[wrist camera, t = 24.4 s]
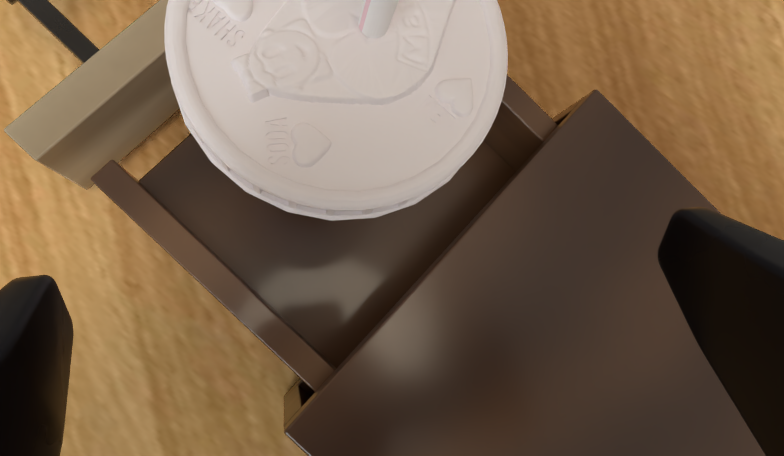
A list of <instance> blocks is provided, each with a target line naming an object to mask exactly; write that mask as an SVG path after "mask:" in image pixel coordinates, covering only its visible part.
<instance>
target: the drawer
mask: <svg viewBox="0 0 784 456" xmlns="http://www.w3.org/2000/svg"><path fill="white" fill-rule="evenodd" d="M6 1H7V2H8V3H10V4H11V5H13V4H15V3H16V2H17V1H18V2H19V3H20V4H21V5H22V6H23V7H24V8H25V9H26V10H27V11H28V12H29V13H30V14H31V15H32V16H34V17H35V18H36V19H37V20H38V21H39V22H40V23H41V24H42V25H43V26H44V27H45V28H46V29H47V30H48V31H49V32H50V33H51V34H52V35H53V36H54V37H56V38H57V39H58V40H59V41H60V42H61V43H62V44H63V45H64V46H65V47H66V48H67V49H68V50H69V51H70V52H71V53H72V54H73V55H74V56H75V57H76V58H78V59H79V60H80V61H81V62H82V63H83V64H82V65H81V66H80V67H79V68H77V69H76V70H75V71H74V72H72V73H71V74H70V75H69V76H68V77H66V78H65V79H64V80H63V81H62V82H60V83H59V84H58V85H57V86H55V87H54V88H53V89H52V90H51V91H49V92H48V93H47V94H46V95H45V96H43V97H42V98H41V99H40V100H39V101H37V102H36V103H35V104H34V105H32V106H31V107H30V108H29V109H28V110H26V111H25V112H24V113H23V114H22V115H20V116H19V117H18V118H17V119H16V120H14V121H13V122H12V123H11V124H9V125H8V126H7V127H6V128H5V129H4V131H5V133H7V134H8V135H9V136H10V137H11V138H12V139H13V140H14V141H15V142H16V143H17V144H18V145H19V146H20V147H21V148H22V149H24V150H25V151H26V152H27V153H28V154H29V155H30V156H31V157H32V158H33V159H34V160H36V161H37V162H39V163H41V164H43V165H44V166H46V167H48V168H50V169H51V170H53V171H55V172H56V173H58V174H60V175H62V176H63V177H65V178H67V179H69V180H70V181H72V182H74V183H76V184H77V185H79V186H81V187H83V188H84V189H86V190H87V189H89V188H90V187H91V186H92V185H94V184H95V185H96V186H98V187H99V188H100V189H101V190H102V191H103V192H104V193H105V194H106V195H107V196H108V197H109V198H110V199H111V200H112V201H113V202H114V203H116V204H117V205H118V206H119V207H120V208H121V209H122V210H123V211H124V212H125V213H126V214H127V215H128V216H129V217H130V218H131V219H133V220H134V221H135V222H136V223H137V224H138V225H139V226H140V227H141V228H142V229H143V230H144V231H145V232H146V233H147V234H148V235H149V236H151V237H152V238H153V239H154V240H155V241H156V242H157V243H158V244H159V245H160V246H161V247H162V248H163V249H164V250H165V251H166V252H167V253H169V254H170V255H171V256H172V257H173V258H174V259H175V260H176V261H177V262H178V263H179V264H180V265H181V266H182V267H183V268H184V269H185V270H187V271H188V272H189V273H190V274H191V275H192V276H193V277H194V278H195V279H196V280H197V281H198V282H199V283H200V284H201V285H202V286H203V287H205V288H206V289H207V290H208V291H209V292H210V293H211V294H212V295H213V296H214V297H215V298H216V299H217V300H218V301H219V302H220V303H222V304H223V305H224V306H225V307H226V308H227V309H228V310H229V311H230V312H231V313H232V314H233V315H234V316H235V317H236V318H237V319H238V320H240V321H241V322H242V323H243V324H244V325H245V326H246V327H247V328H248V329H249V330H250V331H251V332H252V333H253V334H254V335H255V336H256V337H258V338H259V339H260V340H261V341H262V342H263V343H264V344H265V345H266V346H267V347H268V348H269V349H270V350H271V351H272V352H273V353H274V354H276V355H277V356H278V357H279V358H280V359H281V360H282V361H283V362H284V363H285V364H286V365H287V366H288V367H289V368H290V369H291V370H292V371H294V372H295V373H296V374H297V375H298V376H299V377H300V378H301V379H302V380H303V381H304V382H305V383H306V384H307V385H308V386H309V387H311V388H312V389H313V390H314V391H315V392H316V391H317V390H318V388H319V387H320V386H321V385H322V384H323V383H324V382H325V381H326V380H327V379H328V378H329V376H330V375H331V374H332V373H333V372H334V371H335V370H336V369H337V368H338V367H339V365H340V364H341V363H342V362H343V361H344V360H345V359H346V358H347V357H348V356H349V355H350V353H351V352H352V351H353V350H354V349H355V348H356V347H357V346H358V345H359V344H360V342H361V341H362V340H363V339H364V338H365V337H366V336H367V335H368V334H369V333H370V331H371V330H372V329H373V328H374V327H375V326H376V325H377V324H378V323H379V322H380V321H381V319H382V318H383V317H384V316H385V315H386V314H387V313H388V312H389V311H390V310H391V308H392V307H393V306H394V305H395V304H396V303H397V302H398V301H399V300H400V299H401V298H402V296H403V295H404V294H405V293H406V292H407V291H408V290H409V289H410V288H411V287H412V285H413V284H414V283H415V282H416V281H417V280H418V279H419V278H420V277H421V276H422V274H423V273H424V272H425V271H426V270H427V269H428V268H429V267H430V266H431V265H432V264H433V262H434V261H435V260H436V259H437V258H438V257H439V256H440V255H441V254H442V253H443V251H444V250H445V249H446V248H447V247H448V246H449V245H450V244H451V243H452V242H453V241H454V239H455V238H456V237H457V236H458V235H459V234H460V233H461V232H462V231H463V230H464V228H465V227H466V226H467V225H468V224H469V223H470V222H471V221H472V220H473V219H474V217H475V216H476V215H477V214H478V213H479V212H480V211H481V210H482V209H483V208H484V207H485V205H486V204H487V203H488V202H489V201H490V200H491V199H492V198H493V197H494V196H495V194H496V193H497V192H498V191H499V190H500V189H501V188H502V187H503V186H504V185H505V184H506V182H507V181H508V180H509V179H510V178H511V177H512V176H513V175H514V174H515V173H516V171H517V170H518V169H519V168H520V167H521V166H522V165H523V164H524V163H525V162H526V160H527V159H528V158H529V157H530V156H531V155H532V154H533V153H534V152H535V151H536V150H537V148H538V147H539V146H540V145H541V144H542V143H543V142H544V141H545V140H546V139H547V137H548V136H549V135H550V134H551V133H552V132H553V131H554V130H555V129H556V128H557V127H558V125H557V124H556V123H555V122H554V121H553V120H552V119H551V118H550V117H549V116H548V115H547V114H546V113H545V112H544V111H543V110H542V109H541V108H540V107H539V106H538V105H537V104H536V103H535V102H534V101H533V100H532V99H531V98H530V97H529V96H528V95H527V94H526V93H525V92H524V91H523V90H522V89H521V88H520V87H519V86H518V85H517V84H516V83H515V82H514V81H513V80H512V79H511V78H510V77H509V76H508V75H507V77H506V84H505V89H504V93H503V98H502V101H501V104H500V107H499V110H498V113H497V115H496V118H495V120H494V122H493V124H492V126H491V128H490V130H489V132H488V133H487V135H486V137H485V138H484V140H483V142H482V143H481V144H480V146H479V147H478V148H477V150H476V151H475V152H474V154H473V155H472V156H471V157H470V158H469V159H468V160H467V161H466V162H465V164H464V165H463V166H462V167H460V169H459V170H458V171H457V172H456V173H455V175H454V176H453V177H452V178H451V179H450V181H448V182H447V183H446V184H444V185H443V186H441V187H440V188H438V189H437V190H435V191H434V192H432V193H431V194H430V195H428V196H427V197H425V198H424V199H422V200H421V201H419V202H418V203H416V204H414V205H411V206H409V207H406V208H403V209H400V210H397V211H394V212H391V213H388V214H385V215H382V216H379V217H376V218H365V219H350V220H335V221H331V220H326V219H320V218H315V217H310V216H305V215H300V214H295V213H290V212H286V211H284V210H282V209H280V208H278V207H276V206H274V205H272V204H270V203H268V202H266V201H264V200H261V199H259V198H257V197H255V196H253V195H251V194H249V193H247V192H245V191H244V190H243V189H242V188H241V187H240V186H238V185H237V184H236V183H235V182H234V181H233V180H231V179H230V178H229V177H228V176H227V175H226V174H224V173H223V172H222V171H221V170H220V169H218V168H217V167H216V166H215V165H214V164H213V163H211V161H210V160H209V158H208V157H207V155H206V154H205V153H204V151H203V150H202V148H201V147H200V145H199V144H198V142H197V141H196V139H195V138H194V137H193V135H192V134H190V135H189V136H188V137H187V138H186V139H185V140H184V141H182V142H181V143H180V144H179V145H178V146H177V147H176V148H175V149H174V150H172V151H171V152H170V153H169V154H168V155H167V156H166V157H165V158H164V159H163V160H161V161H160V162H159V163H158V164H157V165H156V166H155V167H154V168H153V169H151V170H150V171H149V172H148V173H147V174H146V175H145V176H144V177H143V178H141V179H140V180H139V181H138V180H137V179H136V178H134V177H133V176H132V175H131V174H130V173H129V172H127V171H126V170H125V169H124V168H123V167H121V166H120V165H119V164H118V162H119V161H121V160H122V159H123V158H124V157H125V156H126V155H127V154H129V153H130V152H131V151H132V150H133V149H134V148H135V147H136V146H138V145H139V144H140V143H141V142H142V141H143V140H144V139H145V138H147V137H148V136H149V135H150V134H151V133H152V132H153V131H154V130H156V129H157V128H158V127H159V126H160V125H161V124H162V123H164V122H165V121H166V120H167V119H168V118H169V117H170V116H171V115H173V114H174V113H175V112H176V111H177V110H178V109H179V108H180V107H179V105H178V102H177V99H176V96H175V93H174V90H173V87H172V84H171V78H170V75H169V70H168V66H167V61H166V53H165V43H164V25H165V16H166V8H167V4H168V0H160V1H158V2H157V3H156V4H155V5H154V6H152V7H151V8H150V9H149V10H148V11H146V12H145V13H144V14H143V15H142V16H140V17H139V18H138V19H137V20H135V21H134V22H133V23H132V24H131V25H129V26H128V27H127V28H126V29H125V30H123V31H122V32H121V33H120V34H118V35H117V36H116V37H115V38H114V39H112V40H111V41H110V42H109V43H108V44H106V45H105V46H104V47H103V48H102V49H100V50H99V49H98V48H97V47H96V46H95V45H94V44H93V43H92V42H91V41H90V40H89V39H88V38H86V37H85V36H84V35H83V34H82V33H81V32H80V31H79V30H78V29H77V28H76V27H75V26H74V25H73V24H72V23H71V22H70V21H69V20H68V19H67V18H66V17H65V16H64V15H62V14H61V13H60V12H59V11H58V10H57V9H56V8H55V7H54V6H53V5H52V4H51V3H50V2H49V1H48V0H6Z"/></svg>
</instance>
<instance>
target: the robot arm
mask: <svg viewBox="0 0 784 456" xmlns="http://www.w3.org/2000/svg"><path fill="white" fill-rule="evenodd" d="M658 262H659V265H660V267H661V269H662V271H663V273H664V275H665V277H666V279H667V282H668V284H669V286H670V288H671V290H672V292H673V294H674V296H675V298H676V300H677V302H678V304H679V307H680V309H681V311H682V313H683V315H684V317H685V319H686V321H687V323H688V325H689V327H690V329H691V332H692V334H693V335H694V337H695V339H696V341H697V343H698V345H699V347H700V349H701V350H702V352H703V354H704V356H705V357H706V359H707V361H708V362H709V364H710V365H711V367H712V369H713V370H714V372H715V374H716V375H717V377H718V379H719V380H720V382H721V383H722V385H723V387H724V388H725V390H726V392H727V393H728V395H729V397H730V398H731V400H732V401H733V403H734V405H735V406H736V408H737V410H738V411H739V413H740V415H741V416H742V418H743V419H744V421H745V423H746V424H747V426H748V428H749V429H750V431H751V433H752V434H753V436H754V438H755V439H756V441H757V442H758V444H759V446H760V447H761V449H762V451H763V452H764V454H765V456H784V241H783V240H781V239H778V238H776V237H774V236H771V235H769V234H766V233H764V232H762V231H759V230H757V229H755V228H752V227H750V226H748V225H745V224H743V223H741V222H738V221H736V220H734V219H731V218H729V217H727V216H724V215H722V214H719V213H717V212H715V211H712V210H710V209H708V208H705V207H692V208H682V209H679V210H677V211H676V212H675V213H674V214H673V215H672V217H671V219H670V221H669V224H668V226H667V228H666V231H665V233H664V236H663V238H662V240H661V243H660V245H659V248H658ZM72 345H73V324H72V320H71V317H70V315H69V312H68V310H67V308H66V305H65V303H64V300H63V298H62V296H61V293H60V291H59V289H58V286H57V284H56V282H55V281H54V279H53V278H52V277H50V276H48V275H39V276H29V277H20V278H16V279H14V280H12V281H10V282H9V283H8V284H7V285H5V286H4V287H3V288H2V289H1V290H0V456H60V452H61V447H62V441H63V433H64V425H65V415H66V405H67V395H68V385H69V375H70V365H71V355H72Z"/></svg>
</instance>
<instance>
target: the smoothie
mask: <svg viewBox="0 0 784 456" xmlns="http://www.w3.org/2000/svg"><path fill="white" fill-rule="evenodd" d="M164 43H165V53H166V61H167V66H168V70H169V75H170V78H171V84H172V87H173V90H174V93H175V96H176V99H177V102H178V105H179V107H180V110H181V113H182V116H183V119H184V122H185V125H186V126H187V128H188V129H189V131H190V132H191V134H192V135H193V137H194V138H195V139H196V141H197V142H198V144H199V145H200V147H201V148H202V150H203V151H204V153H205V154H206V155H207V157H208V158H209V160H210V161H211V163H213V164H214V165H215V166H216V167H217V168H218V169H220V170H221V171H222V172H223V173H224V174H226V175H227V176H228V177H229V178H230V179H231V180H233V181H234V182H235V183H236V184H237V185H238V186H240V187H241V188H242V189H243V190H244V191H245V192H247V193H249V194H251V195H253V196H255V197H257V198H259V199H261V200H264V201H266V202H268V203H270V204H272V205H274V206H276V207H278V208H280V209H282V210H284V211H286V212H290V213H295V214H300V215H305V216H310V217H315V218H320V219H326V220H331V221H335V220H350V219H365V218H376V217H379V216H382V215H385V214H388V213H391V212H394V211H397V210H400V209H403V208H406V207H409V206H411V205H414V204H416V203H418V202H419V201H421V200H422V199H424V198H425V197H427V196H428V195H430V194H431V193H432V192H434V191H435V190H437V189H438V188H440V187H441V186H443V185H444V184H446V183H447V182H448V181H450V179H451V178H452V177H453V176H454V175H455V173H456V172H457V171H458V170H459V169H460V167H462V166H463V165H464V164H465V162H466V161H467V160H468V159H469V158H470V157H471V156H472V155H473V154H474V152H475V151H476V150H477V148H478V147H479V146H480V144H481V143H482V142H483V140H484V138H485V137H486V135H487V133H488V132H489V130H490V128H491V126H492V124H493V122H494V120H495V118H496V115H497V113H498V110H499V107H500V104H501V101H502V98H503V93H504V89H505V84H506V77H507V65H508V50H507V38H506V32H505V26H504V21H503V18H502V14H501V10H500V7H499V4H498V2H497V0H168V4H167V8H166V16H165V25H164Z"/></svg>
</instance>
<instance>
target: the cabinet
mask: <svg viewBox="0 0 784 456" xmlns="http://www.w3.org/2000/svg"><path fill="white" fill-rule="evenodd" d="M552 120H553V121H554V122H555V123H556V124H557V125H558V127H557V128H556V129H555V130H554V131H553V132H552V133H551V134H550V135H549V136H548V137H547V139H546V140H545V141H544V142H543V143H542V144H541V145H540V146H539V147H538V148H537V150H536V151H535V152H534V153H533V154H532V155H531V156H530V157H529V158H528V159H527V160H526V162H525V163H524V164H523V165H522V166H521V167H520V168H519V169H518V170H517V171H516V173H515V174H514V175H513V176H512V177H511V178H510V179H509V180H508V181H507V182H506V184H505V185H504V186H503V187H502V188H501V189H500V190H499V191H498V192H497V193H496V194H495V196H494V197H493V198H492V199H491V200H490V201H489V202H488V203H487V204H486V205H485V207H484V208H483V209H482V210H481V211H480V212H479V213H478V214H477V215H476V216H475V217H474V219H473V220H472V221H471V222H470V223H469V224H468V225H467V226H466V227H465V228H464V230H463V231H462V232H461V233H460V234H459V235H458V236H457V237H456V238H455V239H454V241H453V242H452V243H451V244H450V245H449V246H448V247H447V248H446V249H445V250H444V251H443V253H442V254H441V255H440V256H439V257H438V258H437V259H436V260H435V261H434V262H433V264H432V265H431V266H430V267H429V268H428V269H427V270H426V271H425V272H424V273H423V274H422V276H421V277H420V278H419V279H418V280H417V281H416V282H415V283H414V284H413V285H412V287H411V288H410V289H409V290H408V291H407V292H406V293H405V294H404V295H403V296H402V298H401V299H400V300H399V301H398V302H397V303H396V304H395V305H394V306H393V307H392V308H391V310H390V311H389V312H388V313H387V314H386V315H385V316H384V317H383V318H382V319H381V321H380V322H379V323H378V324H377V325H376V326H375V327H374V328H373V329H372V330H371V331H370V333H369V334H368V335H367V336H366V337H365V338H364V339H363V340H362V341H361V342H360V344H359V345H358V346H357V347H356V348H355V349H354V350H353V351H352V352H351V353H350V355H349V356H348V357H347V358H346V359H345V360H344V361H343V362H342V363H341V364H340V365H339V367H338V368H337V369H336V370H335V371H334V372H333V373H332V374H331V375H330V376H329V378H328V379H327V380H326V381H325V382H324V383H323V384H322V385H321V386H320V387H319V388H318V390H317V391H316V392H315V391H314V390H313V389H312V388H311V387H309V386H308V385H307V384H306V383H305V382H304V381H303V380H302V379H301V378H300V379H299V380H298V382H297V383H296V384H295V385H294V386H293V387H292V388H291V389H290V390H289V391H288V392H287V393H286V394H285V396H284V433H285V435H287V436H288V437H289V438H290V439H291V440H292V441H293V442H294V443H295V444H296V445H297V446H298V447H299V448H300V449H301V450H303V451H304V452H305V453H306V454H307V455H308V456H765V454H764V452H763V451H762V449H761V447H760V446H759V444H758V442H757V441H756V439H755V438H754V436H753V434H752V433H751V431H750V429H749V428H748V426H747V424H746V423H745V421H744V419H743V418H742V416H741V415H740V413H739V411H738V410H737V408H736V406H735V405H734V403H733V401H732V400H731V398H730V397H729V395H728V393H727V392H726V390H725V388H724V387H723V385H722V383H721V382H720V380H719V379H718V377H717V375H716V374H715V372H714V370H713V369H712V367H711V365H710V364H709V362H708V361H707V359H706V357H705V356H704V354H703V352H702V350H701V349H700V347H699V345H698V343H697V341H696V339H695V337H694V335H693V334H692V332H691V329H690V327H689V325H688V323H687V321H686V319H685V317H684V315H683V313H682V311H681V309H680V307H679V304H678V302H677V300H676V298H675V296H674V294H673V292H672V290H671V288H670V286H669V284H668V282H667V279H666V277H665V275H664V273H663V271H662V269H661V267H660V265H659V262H658V248H659V245H660V243H661V240H662V238H663V236H664V233H665V231H666V228H667V226H668V224H669V221H670V219H671V217H672V215H673V214H674V213H675V212H676V211H677V210H679V209H682V208H692V207H705V208H708V209H710V210H712V211H715V212H717V213H719V214H721V213H720V212H719V211H718V210H717V209H716V208H715V207H714V206H713V205H712V204H711V203H710V202H709V201H708V200H707V199H706V198H705V197H704V196H703V195H702V194H701V193H700V192H699V191H698V190H697V189H696V188H695V187H694V186H693V185H692V184H691V183H690V182H689V181H688V180H687V179H686V178H685V177H684V176H683V175H682V174H681V173H680V172H679V171H678V170H677V169H676V168H675V167H674V166H673V165H672V164H671V163H670V162H669V161H668V160H667V159H666V158H665V157H664V156H663V155H662V154H661V153H660V152H659V151H658V150H657V149H656V148H655V147H654V146H653V145H652V144H651V143H650V142H649V141H648V140H647V139H646V138H645V137H644V136H643V135H642V134H641V133H640V132H639V131H638V130H637V129H636V128H635V127H634V126H633V125H632V124H631V123H630V122H629V121H628V120H627V119H626V118H625V117H624V116H623V115H622V114H621V113H620V112H619V111H618V110H617V109H616V108H615V107H614V106H613V105H612V104H611V103H610V102H609V101H608V100H607V99H606V98H605V97H604V96H603V95H602V94H601V93H600V92H599V91H598V90H594V91H592V92H591V93H589V94H588V95H586V96H585V97H583V98H582V99H580V100H579V101H577V102H576V103H574V104H573V105H571V106H570V107H569V108H567V109H566V110H564V111H563V112H561V113H560V114H558V115H557V116H555V117H554V118H553V119H552Z"/></svg>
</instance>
